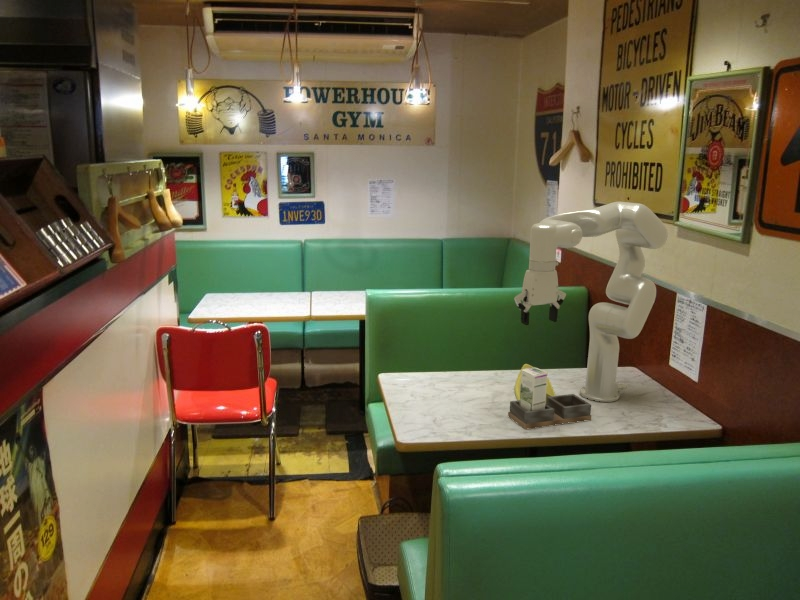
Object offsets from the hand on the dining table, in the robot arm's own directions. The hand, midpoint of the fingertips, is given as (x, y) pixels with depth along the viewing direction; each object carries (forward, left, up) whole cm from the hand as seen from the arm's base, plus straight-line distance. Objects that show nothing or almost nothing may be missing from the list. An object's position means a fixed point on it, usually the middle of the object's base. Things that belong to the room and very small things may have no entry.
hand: (538, 322), depth 203 cm
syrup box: (+2, +4, -28) cm, 29 cm away
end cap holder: (-4, +4, -30) cm, 30 cm away
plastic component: (-11, -16, -30) cm, 36 cm away
